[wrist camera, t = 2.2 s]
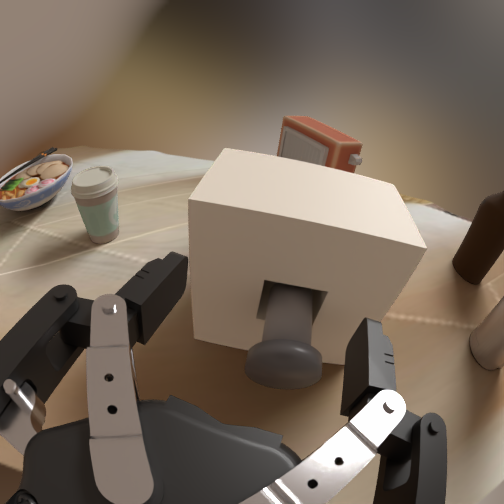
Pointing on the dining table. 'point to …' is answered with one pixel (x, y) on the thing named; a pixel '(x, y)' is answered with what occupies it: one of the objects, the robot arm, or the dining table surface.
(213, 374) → the dining table surface
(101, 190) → the coffee cup
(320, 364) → the knob
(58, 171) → the ramen bowl
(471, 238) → the olive oil
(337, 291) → the knob mount
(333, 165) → the orange radio
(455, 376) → the dining table surface
